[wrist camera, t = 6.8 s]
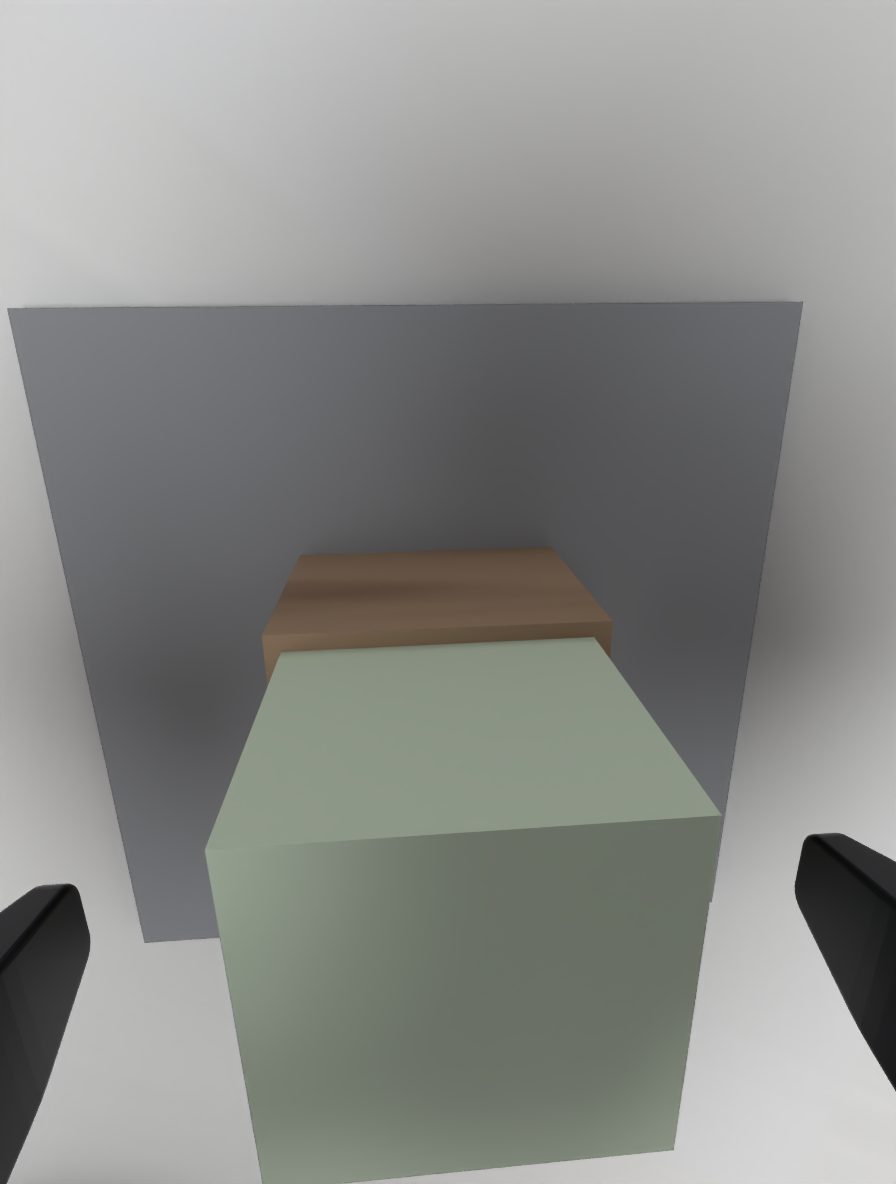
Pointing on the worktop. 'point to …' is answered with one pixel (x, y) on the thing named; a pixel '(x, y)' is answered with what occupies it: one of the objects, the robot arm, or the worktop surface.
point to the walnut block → (431, 601)
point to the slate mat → (390, 506)
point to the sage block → (459, 911)
